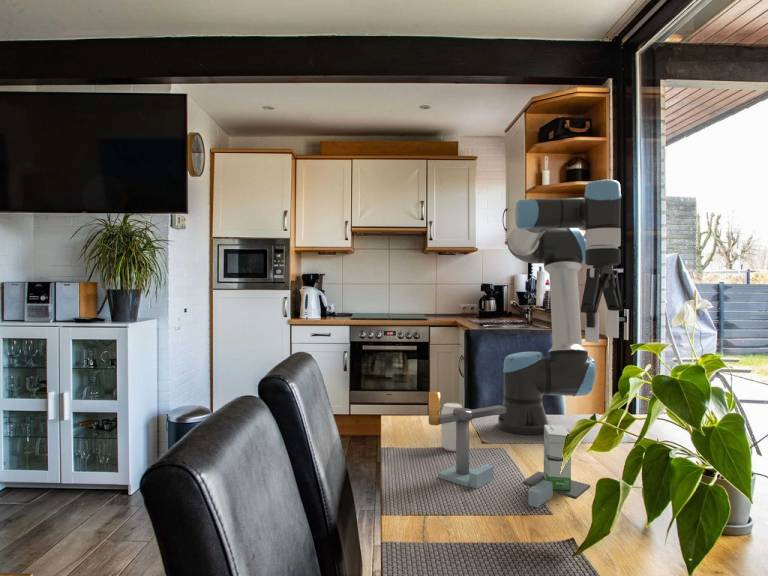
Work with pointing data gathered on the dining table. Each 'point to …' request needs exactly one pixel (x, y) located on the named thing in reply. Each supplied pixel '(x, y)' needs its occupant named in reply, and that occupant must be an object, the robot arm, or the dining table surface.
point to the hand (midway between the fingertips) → (602, 339)
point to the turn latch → (458, 411)
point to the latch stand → (484, 470)
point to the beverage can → (449, 428)
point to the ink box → (556, 457)
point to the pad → (575, 491)
